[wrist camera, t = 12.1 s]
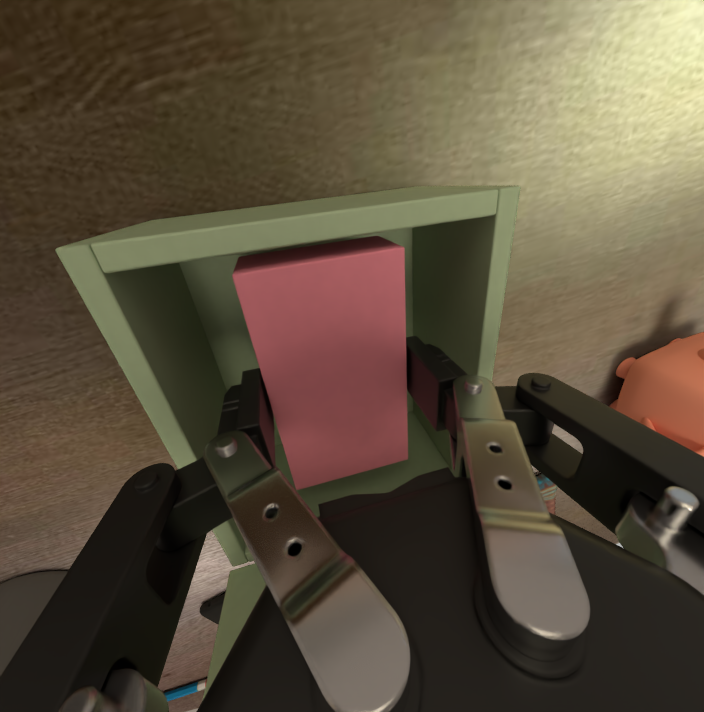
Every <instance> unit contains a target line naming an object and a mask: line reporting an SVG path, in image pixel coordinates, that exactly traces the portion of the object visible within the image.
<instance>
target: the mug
mask: <svg viewBox="0 0 704 712" xmlns="http://www.w3.org/2000/svg"><path fill="white" fill-rule="evenodd" d="M67 572H68V571H47V572H39V573H32V574H28V575H24V576H20V577H17V578H14V579H11V580H8V581H6V582H4V583H2V584H0V676H1V675H2V673H3V672H4V670H5V668H6V667H7V665H8V664H9V662H10V661H11V659H12V658H13V656H14V654H15V653H16V651H17V650H18V648H19V647H20V645H21V644H22V642H23V641H24V639H25V637H26V636H27V634H28V633H29V631H30V630H31V628H32V627H33V625H34V623H35V622H36V620H37V619H38V617H39V616H40V614H41V613H42V611H43V610H44V608H45V606H46V605H47V603H48V602H49V600H50V599H51V597H52V596H53V594H54V592H55V591H56V589H57V588H58V586H59V585H60V583H61V582H62V580H63V578H64V577H65V575H66V574H67Z"/></svg>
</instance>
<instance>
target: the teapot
mask: <svg viewBox="0 0 704 712" xmlns="http://www.w3.org/2000/svg"><path fill="white" fill-rule="evenodd" d="M616 375H617V376H618V377H621V378H623V379H625V381H624V383H623V386H622V389H621V392H620V395H619V398H618V399H617V400H615V401H614V402H613V403H612V404H611V405H610V406H609V407H611V408H612V409H614V410H616V411H618V412H620V413H622V414H624V415H626V416H628V417H630V418H631V419H633V420H635V421H637V422H639V423H641V424H643V425H645V426H647V427H648V428H650V429H652V430H654V431H656V432H658V433H660V434H662V435H664V436H665V437H667V438H669V439H671V440H673V441H675V442H677V443H679V444H681V445H683V446H684V447H686V448H688V449H690V450H692V451H694V452H696V453H698V454H700V455H701V456H703V457H704V332H701V333H698V334H695V335H692V336H689V337H687V338H684V339H681V338H677V339H674V340H673V341H671V342H670V343H669V344H668V345H666V346H664V347H662V348H659V349H657V350H655V351H652V352H650V353H648V354H646V355H644V356H642V357H640V358H638V359H637V360H636V359H635V358H633V357H631V358H627V359H626V360H624V361H623V362H622V363H621V364H620V365H619V366H618V368H617V370H616Z"/></svg>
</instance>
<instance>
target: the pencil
mask: <svg viewBox="0 0 704 712" xmlns="http://www.w3.org/2000/svg"><path fill="white" fill-rule="evenodd" d="M206 682H207V679H205V680H202V681H199V682H196V683H193V684H190V685H187V686H184V687H181V688H178V689H175V690H172V691H169V692H166V693H164V694H165V696H166V698H167V701H170V700H173V699H176V698H179V697H182V696H185V695H188V694H191V693H194V692H197V691H200V690H203V689H205V687H206Z"/></svg>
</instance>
